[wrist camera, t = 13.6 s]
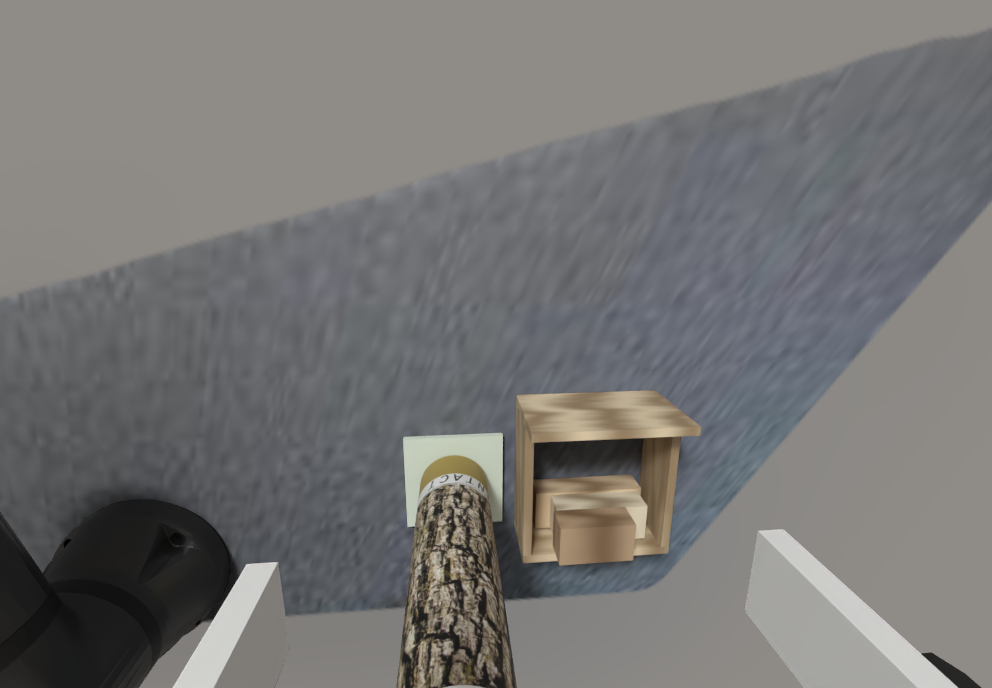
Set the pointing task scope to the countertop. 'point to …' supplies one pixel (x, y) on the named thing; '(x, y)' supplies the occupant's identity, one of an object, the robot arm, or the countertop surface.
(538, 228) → the countertop surface
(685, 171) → the countertop surface
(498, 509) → the felt mat
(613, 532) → the offcut stack
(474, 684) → the wooden log
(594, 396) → the wooden open box
